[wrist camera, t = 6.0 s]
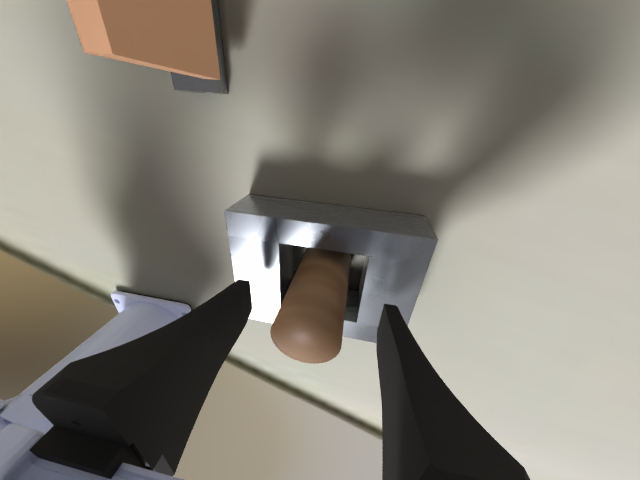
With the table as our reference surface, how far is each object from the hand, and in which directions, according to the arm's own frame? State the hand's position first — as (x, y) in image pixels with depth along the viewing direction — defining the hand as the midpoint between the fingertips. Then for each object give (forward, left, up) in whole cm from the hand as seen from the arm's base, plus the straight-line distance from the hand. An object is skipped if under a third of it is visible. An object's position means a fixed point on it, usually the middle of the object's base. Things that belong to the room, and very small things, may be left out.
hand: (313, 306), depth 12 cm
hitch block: (0, 0, -5) cm, 5 cm away
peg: (0, 0, -5) cm, 5 cm away
